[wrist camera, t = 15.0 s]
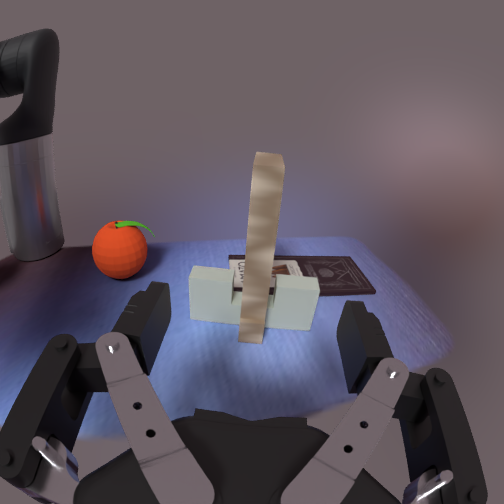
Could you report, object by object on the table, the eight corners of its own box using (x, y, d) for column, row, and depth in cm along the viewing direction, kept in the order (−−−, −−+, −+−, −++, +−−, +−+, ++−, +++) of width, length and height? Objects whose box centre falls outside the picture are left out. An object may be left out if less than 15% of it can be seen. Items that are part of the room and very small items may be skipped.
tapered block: (238, 341, 27) (252, 165, 20) (243, 297, 33) (256, 151, 26) (261, 344, 27) (285, 169, 20) (263, 299, 33) (281, 153, 26)
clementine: (152, 256, 40) (149, 207, 36) (162, 284, 34) (159, 228, 31) (96, 264, 36) (89, 215, 33) (97, 294, 31) (86, 238, 28)
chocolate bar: (376, 290, 36) (233, 294, 33) (374, 296, 36) (232, 300, 34) (349, 256, 44) (228, 254, 41) (348, 262, 44) (228, 260, 41)
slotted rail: (190, 319, 29) (188, 277, 27) (194, 306, 31) (193, 265, 29) (309, 330, 29) (320, 290, 27) (307, 317, 31) (316, 277, 29)
